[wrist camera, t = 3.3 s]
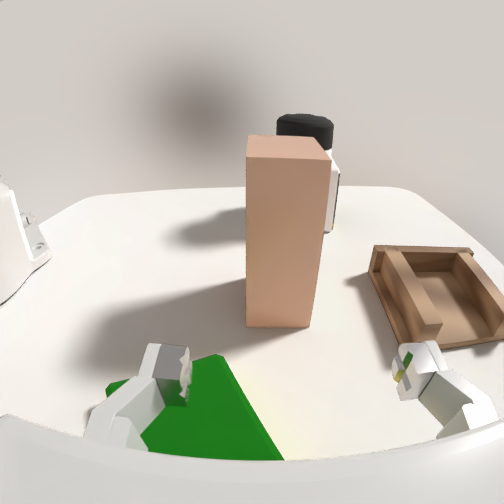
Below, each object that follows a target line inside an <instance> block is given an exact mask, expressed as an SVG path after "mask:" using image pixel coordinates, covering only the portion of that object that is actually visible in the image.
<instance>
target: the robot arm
mask: <svg viewBox="0 0 504 504" xmlns="http://www.w3.org/2000/svg"><path fill="white" fill-rule="evenodd" d="M0 1H2V0H0ZM51 256H52V253H51V251H50V249H49V247H48V245H47V243H46V241H45V239H44V237H43V235H42V233H41V231H40V229H39V227H38V225H37V223H36V221H35V220H34V217H33V215H32V214H31V213H22V214H19V211H18V207H17V204H16V200H15V196H14V192H13V191H12V190H11V188H10V186H9V185H8V184H7V183H6V182H5V180H4V179H3V178H2V177H1V176H0V304H1V303H3V302H4V301H5V300H7V299H8V298H9V297H10V296H11V295H12V294H14V293H15V292H16V291H17V290H18V289H19V288H20V287H21V285H22V284H23V283H24V282H25V280H26V279H27V278H28V277H29V276H30V274H31V273H32V272H33V271H35V270H36V269H37V268H39V267H40V266H42V265H43V264H44V263H46V262H47V261H48V260H49V259H50V258H51ZM398 352H399V354H398V355H397V356H395V357H394V359H393V362H392V368H391V370H392V376H393V379H394V380H395V381H396V382H398V385H397V391H398V395H399V398H400V401H403V400H411V399H418V398H419V399H418V400H419V401H420V402H421V403H422V404H423V405H424V406H425V407H426V408H427V409H428V410H429V411H430V413H431V414H432V415H433V416H434V417H435V418H436V419H437V420H438V421H439V422H440V423H441V424H442V425H443V426H444V428H443V429H442V430H441V431H440V432H439V433H438V434H437V436H436V438H437V439H436V440H432V441H428V442H423V443H419V444H415V445H410V446H405V447H400V448H395V449H390V450H384V451H378V452H372V453H365V454H358V455H350V456H341V457H331V458H319V459H305V460H279V461H248V460H222V459H207V458H196V457H186V456H177V455H169V454H162V453H155V452H148V448H147V446H146V445H145V443H144V441H143V440H142V438H141V437H140V434H141V433H142V432H143V431H144V430H145V429H146V428H147V427H148V426H149V425H150V423H151V422H152V421H153V420H154V419H155V418H156V417H157V416H158V415H159V413H160V412H161V411H162V410H163V409H164V408H165V407H166V406H179V407H187V405H188V399H189V388H188V386H189V385H190V384H191V381H192V370H193V369H192V361H191V359H189V355H190V351H189V347H187V346H177V345H167V344H156V343H149V344H148V345H147V347H146V350H145V353H144V357H143V360H142V363H141V366H140V369H139V373H138V376H133V377H132V378H131V379H130V380H128V381H127V382H126V383H125V384H123V385H122V386H121V387H120V388H119V389H117V390H116V391H115V392H114V393H113V394H111V395H110V396H109V397H108V398H106V399H105V400H104V401H103V402H101V403H100V404H99V405H98V406H97V407H95V408H94V409H93V410H92V412H91V415H90V418H89V421H88V424H87V427H86V430H85V433H84V436H83V438H82V437H79V436H75V435H71V434H68V433H65V432H61V431H58V430H55V429H52V428H48V427H45V426H42V425H39V424H37V423H34V422H31V421H28V420H26V419H23V418H20V417H18V416H15V415H12V414H6V415H4V416H1V417H0V504H504V418H502V419H499V420H498V417H497V415H496V412H495V410H494V408H493V405H492V403H491V401H490V399H489V397H488V396H487V395H485V394H484V393H483V392H482V391H480V390H479V389H478V388H476V387H475V386H474V385H472V384H471V383H470V382H468V381H467V380H466V379H465V378H463V377H462V376H461V375H459V374H458V373H457V372H455V371H454V370H453V369H449V368H448V365H447V363H446V361H445V359H444V357H443V355H442V353H441V351H440V349H439V347H438V345H437V343H436V341H434V340H431V341H420V342H411V343H402V344H401V345H400V346H399V348H398ZM165 405H166V406H165Z"/></svg>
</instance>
